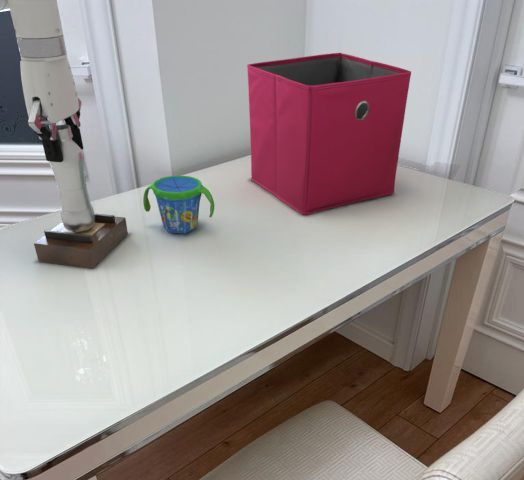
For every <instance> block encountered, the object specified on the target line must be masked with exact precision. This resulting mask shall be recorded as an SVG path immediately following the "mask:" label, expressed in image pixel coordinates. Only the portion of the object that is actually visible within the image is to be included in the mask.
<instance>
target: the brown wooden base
mask: <svg viewBox="0 0 524 480" xmlns="http://www.w3.org/2000/svg"><path fill="white" fill-rule="evenodd" d="M94 213H95V223H94V225H93V227H92V228H90V229H89V230H86V231H81V232H72V231H69V230H67V229H66V228H65V227H64V225H63V222H62V221H61V222H60V223H58V224H57V225H56V226H55V227H53V228H52V229H45V230H43V233H44V235H42V236H41V238H39V239H38V240H36V241H35V242H34V243H33V245H34V250H35V253H36V258H37V261H38V262H39V263H46V264H55V265H62V266H69V267H76V268H85V269H94V268H95V267H96V266H97V265H98V264H99V263H100V262H102V261H103V260H104V258H106V256H108V254H110V253H111V252H112V251H113V250H114V249H115V248H116V247H117V246H118V245H119V244H120V243H121V242H122V241H123V240H124V239H125V238H126V237H127V236H128V235H129V232H128V225H127V220H126V219H127V217H126V216H116V215H114V214H107V213H98V212H97V213H96V212H94Z"/></svg>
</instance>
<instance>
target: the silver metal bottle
mask: <svg viewBox="0 0 524 480" xmlns="http://www.w3.org/2000/svg"><path fill="white" fill-rule="evenodd" d="M72 137H73V134H72V132H71V128H70V126H69V125H64V124H56V139H59V142H60V147H61V152H62V156H63V161H62V162H50V161H48V163H49V165H50V168H51V171H52V173H53V177H54V179H55V183H56V186H57V190H58V195H59V201H60V220H61V222H63V225H64V227H65V228H66V229H67V230H69V231H72V232H81V231H86V230H89V229H90V228H92V227H93V225H94V223H95V213H96V212H95V210H94V208H93V207H94V206H93V205H92V203H91V199H90V194H89V192H88V187H87V180H86V179H87V178H86V169H85V168H86V167H85V154H84V152H83V149H82V150H81V148H80V147H79V146H78V145H77V144H76V143H75V142H74V141H73V140H72Z"/></svg>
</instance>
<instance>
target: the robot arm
mask: <svg viewBox="0 0 524 480" xmlns="http://www.w3.org/2000/svg"><path fill="white" fill-rule="evenodd" d="M7 11H9V12H10V16H11V21H12V24H13V29H14V33H15V38H16V42H17V46H18V50H19V54H20V59H21V60H20V61H19V63H20V64H19V66H20V67H19V68H20V78H21V85H22V92H23V98H24V103H25V107H26V112H27V116H28V120H27V124H28V126H29V127H30V128H31V129H32V130H33V131H34V133H35V134H36V135H37V136H38V139H39V140H41V143H42V147H43V152H44V156H45V160H46V161H47V162H49V161H50V162H62V161H63V156H62V152H61V147H60V142H59V139H56V125H57V123H59V122H61V121H62V123H63V125H69V126H70V128H71V132H72V134H73V137H72V140H73V141H74V142H75V143H76V144H77V145H78V146H79V147H80V148H81V150H82V151H83V150H84V144H83V138H82V134H81V128H80V127H81V121H80V117H81V108H82V100H81V99H80V98H79V97H78V92H77V87H76V82H75V79H74V74H73V71H72V68H71V65H70V62H69V58H68V52H67V51H68V50H67V45H66V41H65V36H64V31H63V25H62V21H61V16H60V10H59V5H58V0H0V12H1V13H2V12H7ZM46 119H48V120H46ZM46 126H49V129H48V128H47V127H46Z"/></svg>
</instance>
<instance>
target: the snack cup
mask: <svg viewBox="0 0 524 480" xmlns="http://www.w3.org/2000/svg"><path fill="white" fill-rule="evenodd" d="M150 190H152V192H153V195H154V196H155V199H156V204H157V207H158V211H159V215H160V219H161V222H162V226H163V229H164V230H165V231H166V232H167V233H172V234H183V235H186V234H187V233H191V232H192V231H194V230H197V228H198V224H199V213H200V212H199V211H200V203H201V197H202V194H203V195H204V197H205V198H206V200H207V201H208V202H209V204H210V205H209V206H210V207H209V218H211V219H212V217H213V216H214V212H215V201H214V197H213V195H212V193H211V192H210V190H209V189H208V188H207V187H205V186H204V185H203V182H202V181H201V180H200V179H198V178H196V177H193V176H189V175H168V176H164V177H163V176H162V177H160V178H158V179H156V180H155V181H153V182H152V183H151V184H150V185H148V186H147V187H146V188H145V190H144V191H143V192H144V193H143V200H142V201H143V203H142V204H143V208H144V211H145V212H147V213H148V212H150V210H151V202H150V200H149V193H150V192H149V191H150Z"/></svg>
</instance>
